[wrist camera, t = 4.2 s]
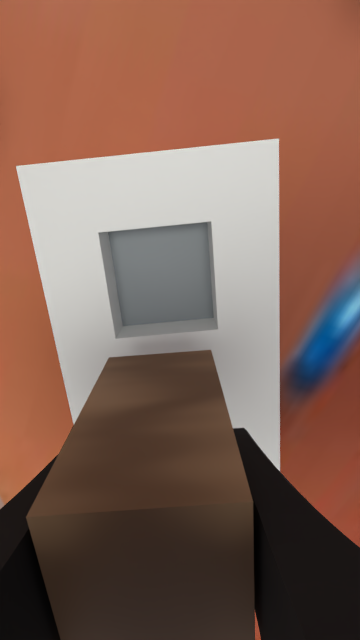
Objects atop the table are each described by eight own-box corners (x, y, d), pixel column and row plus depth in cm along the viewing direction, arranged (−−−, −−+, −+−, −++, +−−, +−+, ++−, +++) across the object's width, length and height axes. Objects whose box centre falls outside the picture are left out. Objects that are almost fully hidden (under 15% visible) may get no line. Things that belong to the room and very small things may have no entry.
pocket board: (264, 151, 16) (278, 138, 14) (269, 508, 23) (280, 540, 21) (39, 174, 17) (15, 165, 14) (110, 520, 24) (102, 553, 21)
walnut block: (211, 349, 12) (253, 501, 5) (215, 436, 13) (254, 650, 7) (108, 357, 12) (25, 517, 6) (122, 443, 13) (67, 662, 7)
